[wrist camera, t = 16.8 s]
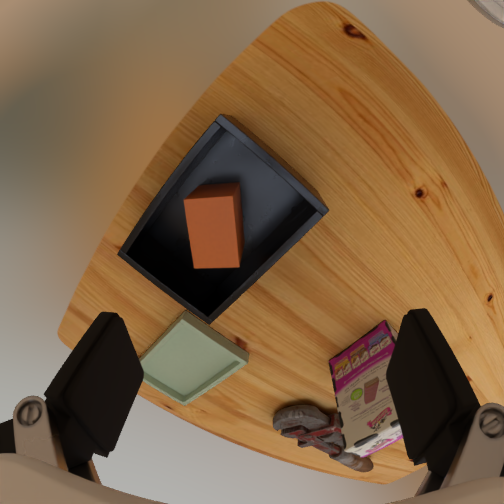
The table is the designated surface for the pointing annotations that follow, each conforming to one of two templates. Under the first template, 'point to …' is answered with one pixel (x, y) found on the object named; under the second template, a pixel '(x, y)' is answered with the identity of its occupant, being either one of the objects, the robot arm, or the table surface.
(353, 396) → the candy bar box
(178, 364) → the shallow green tray
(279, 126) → the table surface
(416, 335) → the robot arm
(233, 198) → the orange brown rectangular block
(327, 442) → the pipe wrench
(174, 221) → the dark open storage bin
